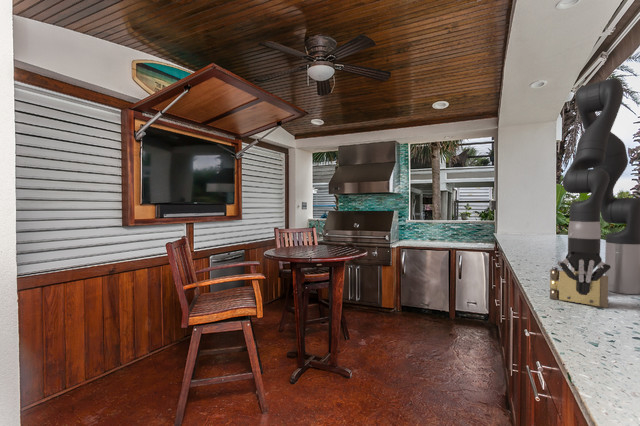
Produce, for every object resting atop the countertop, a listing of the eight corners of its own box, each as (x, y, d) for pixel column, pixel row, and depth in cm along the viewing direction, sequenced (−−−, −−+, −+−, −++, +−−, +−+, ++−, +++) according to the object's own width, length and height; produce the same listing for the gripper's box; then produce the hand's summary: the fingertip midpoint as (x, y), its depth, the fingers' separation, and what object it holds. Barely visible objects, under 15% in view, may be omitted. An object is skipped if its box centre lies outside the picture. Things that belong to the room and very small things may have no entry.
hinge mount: (553, 294, 111) (553, 264, 111) (608, 303, 102) (609, 270, 101) (549, 298, 106) (549, 267, 106) (607, 308, 96) (608, 274, 96)
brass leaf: (548, 297, 105) (549, 270, 105) (550, 295, 108) (551, 268, 107) (599, 306, 97) (600, 276, 96) (600, 304, 99) (601, 274, 99)
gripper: (604, 236, 98) (602, 292, 99) (553, 234, 102) (551, 289, 103) (618, 238, 91) (616, 299, 92) (563, 236, 95) (561, 295, 96)
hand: (582, 294), depth 97 cm, fingers closed
